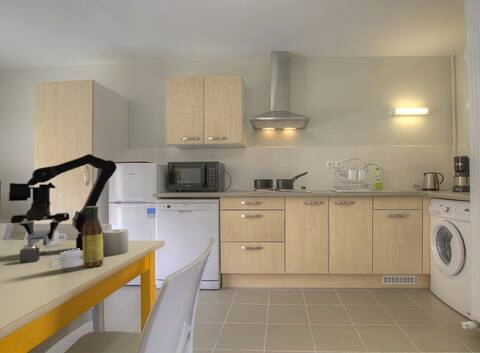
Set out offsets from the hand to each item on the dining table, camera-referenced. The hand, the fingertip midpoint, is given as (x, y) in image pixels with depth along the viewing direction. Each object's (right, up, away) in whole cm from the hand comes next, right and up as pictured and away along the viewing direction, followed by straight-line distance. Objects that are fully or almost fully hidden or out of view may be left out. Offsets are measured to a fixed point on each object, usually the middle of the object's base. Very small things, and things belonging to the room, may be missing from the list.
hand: (41, 239), depth 121 cm
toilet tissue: (+28, -6, +1) cm, 28 cm away
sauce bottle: (+28, -5, -17) cm, 33 cm away
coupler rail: (+1, -5, -6) cm, 8 cm away
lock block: (0, -1, 0) cm, 1 cm away
